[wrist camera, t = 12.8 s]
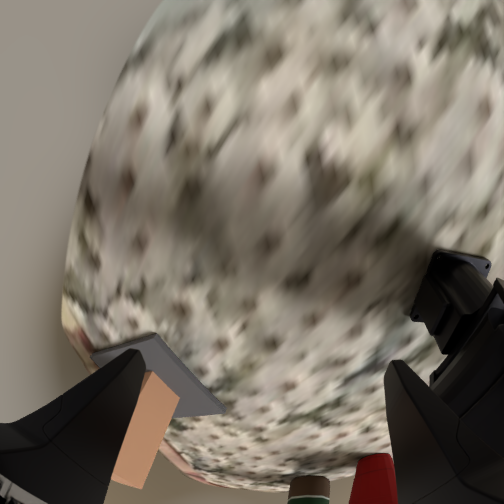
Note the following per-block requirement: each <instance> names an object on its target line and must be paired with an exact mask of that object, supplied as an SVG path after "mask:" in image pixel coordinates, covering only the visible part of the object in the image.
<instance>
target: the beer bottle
mask: <svg viewBox="0 0 504 504" xmlns="http://www.w3.org/2000/svg"><path fill="white" fill-rule="evenodd" d="M329 492H330V481H329V479H327V478H325V477H323V476H302V477H296V478H294V479H293V480H292V482H291V484H290V489H289V496H288V504H329V494H330V493H329Z"/></svg>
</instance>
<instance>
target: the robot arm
mask: <svg viewBox="0 0 504 504" xmlns="http://www.w3.org/2000/svg"><path fill="white" fill-rule="evenodd" d="M439 255H440V257H439V258H437V257H438V256H439ZM486 264H487V265H486ZM490 268H491V262H490V261H489V260H488V259H485V258H481V257H476V256H471V255H466V254H461V253H455V252H450V251H445V250H436V251H435V252H434V253H433V256H432V259H431V262H430V264H429V267H428V270H427V273H426V275H425V276H424V278H423V281H422V284H421V286H420V289H419V291H418V294H417V296H416V299H415V301H414V303H415V304H414V306H413V308H412V311H411V313H410V318H411V320H412V321H414V322H424V323H425V325H426V327H427V329H428V332H429V334H430V335H431V336H434V338H435V340H436V342H437V344H438V347H439V349H440V351H441V353H442V354H443V355H448V356H447V357H446V358H445V360H444V361H443V362H442V363H441V365H440V366H439V367H438V368H437V369H436V370H434V371H433V372H432V374H431V375H430V385H429V386H428V385H427V384H426V383H425V382H424V381H423V380H422V379H421V378H420V377H419V376H418V375H417V374H416V373H415V372H414V371H413V370H412V369H411V368H410V367H409V366H408V365H407V364H406V363H405V362H404V361H403V360H392V361H391V362H390V363H389V365H388V368H387V370H386V372H385V375H384V389H385V401H386V415H387V422H388V428H389V434H390V440H391V447H392V453H393V461H394V468H395V477H396V486H397V497H398V504H504V280H502V279H499V278H496V280H495V282H494V284H493V286H492V284H491V283H490V282H489V281H488V280H487V279H486V278H487V276H488V273H489V271H490ZM415 315H417V316H415ZM145 371H146V363H145V361H144V358H143V356H142V353H141V351H140V350H139V349H134V348H129V349H127V350H126V351H124V352H123V353H121V354H120V355H118V356H117V357H116V358H114V359H113V360H111V361H110V362H108V363H107V364H106V365H104V366H103V367H101V368H100V369H98V370H97V371H95V372H94V373H93V374H91V375H90V376H88V377H87V378H85V379H84V380H82V381H81V382H80V383H78V384H77V385H75V386H74V387H72V388H71V389H69V390H68V391H66V392H65V393H64V394H63V395H60V396H59V397H58V398H56V399H55V400H53V401H51V402H50V403H48V404H47V405H45V406H43V407H42V408H40V409H38V410H37V411H35V412H33V413H31V414H29V415H27V416H25V417H23V418H21V419H20V420H17V421H15V422H12V423H0V504H103V503H104V500H105V496H106V493H107V490H108V486H109V483H110V480H111V477H112V473H113V470H114V467H115V464H116V461H117V458H118V455H119V452H120V449H121V447H122V444H123V441H124V438H125V435H126V432H127V430H128V427H129V424H130V421H131V418H132V416H133V413H134V410H135V408H136V405H137V402H138V398H139V394H140V390H141V386H142V382H143V379H144V375H145Z"/></svg>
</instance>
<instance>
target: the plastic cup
mask: <svg viewBox="0 0 504 504" xmlns="http://www.w3.org/2000/svg"><path fill="white" fill-rule="evenodd" d="M349 504H398V497H397V486H396V477H395V468H394V463H393V460H392V458H391V456H390V455H389V454H386V453H381V454H374V455H370V456H367V457H364V458H362V459H361V460H359V461H358V465H357V467H356V474H355V479H354V482H353V487H352V492H351V496H350V500H349Z"/></svg>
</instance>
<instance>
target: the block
mask: <svg viewBox="0 0 504 504" xmlns="http://www.w3.org/2000/svg"><path fill="white" fill-rule="evenodd" d="M179 399H180V398H179V397H178V396H177V395H176V394H175V393H174V392H173V391H172V390H171V389H170V388H169V387H168V386H167V385H166V384H165V383H164V382H163V381H162V380H161V379H160V378H159V377H158V376H157V375H156V374H155V373H154V372H153V371H151V372H145V375H144V379H143V382H142V386H141V390H140V394H139V398H138V402H137V405H136V408H135V410H134V413H133V416H132V418H131V421H130V424H129V427H128V430H127V432H126V435H125V438H124V441H123V444H122V447H121V449H120V452H119V455H118V458H117V461H116V464H115V467H114V470H113V473H112V477H111V479H112V480H113V481H116V482H119V483H122V484H125V485H129V486H132V487H136V488H139V489H142V487H143V485H144V482H145V480H146V478H147V475H148V473H149V470H150V468H151V466H152V463H153V461H154V458H155V456H156V454H157V451H158V449H159V446H160V444H161V442H162V439H163V437H164V435H165V432H166V430H167V427H168V425H169V423H170V420H171V418H172V416H173V413H174V411H175V408H176V406H177V404H178V401H179Z"/></svg>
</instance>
